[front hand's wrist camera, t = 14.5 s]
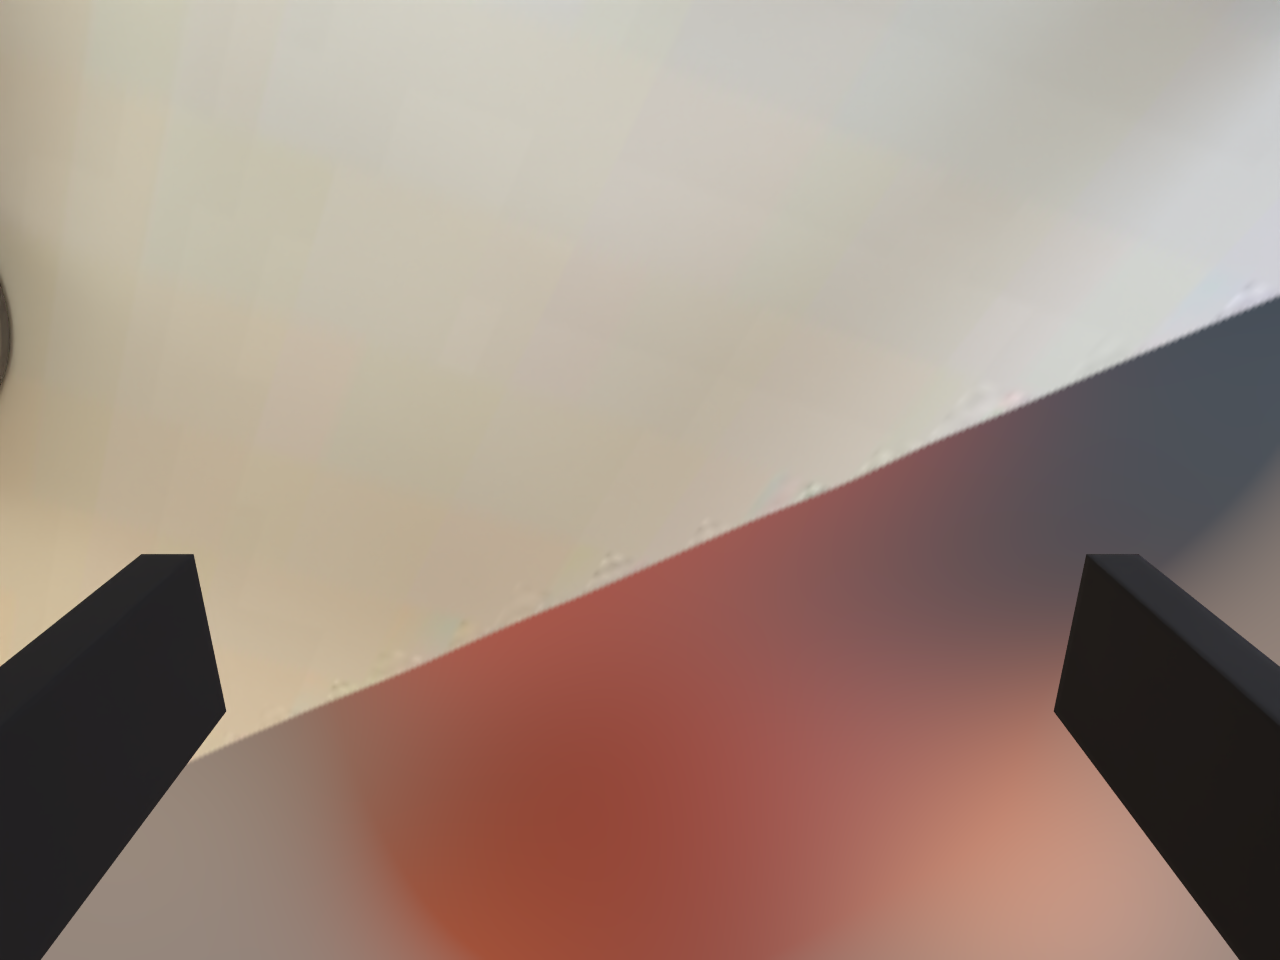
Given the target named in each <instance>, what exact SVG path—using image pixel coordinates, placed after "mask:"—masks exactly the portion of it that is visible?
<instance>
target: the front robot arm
mask: <svg viewBox="0 0 1280 960" xmlns="http://www.w3.org/2000/svg"><path fill="white" fill-rule="evenodd" d="M9 341H10V332H9V320H8V313H7V308H6V302H5V299H4V295H3V292H2V288H1V285H0V385H1V383H2V380H3V378H4V374H5V370H6V366H7V362H8V355H9ZM225 712H226V708H225V703H224V698H223V693H222V689H221V684H220V679H219V674H218V669H217V665H216V660H215V655H214V650H213V645H212V641H211V636H210V631H209V626H208V621H207V616H206V612H205V607H204V602H203V597H202V592H201V588H200V583H199V578H198V573H197V568H196V564H195V559H194V554H141V555H140V556H139V557H137V558H136V559H135V560H134V561H132V562H131V563H130V564H129V565H127V566H126V567H125V568H124V569H122V570H121V571H120V572H119V573H117V574H116V575H115V576H114V577H112V578H111V579H110V580H109V581H107V582H106V583H105V584H104V585H102V586H101V587H100V588H98V589H97V590H96V591H95V592H93V593H92V594H91V595H90V596H88V597H87V598H86V599H85V600H83V601H82V602H81V603H80V604H78V605H77V606H76V607H75V608H73V609H72V610H71V611H70V612H68V613H67V614H66V615H65V616H63V617H62V618H61V619H60V620H58V621H57V622H56V623H55V624H53V625H52V626H51V627H50V628H48V629H47V630H46V631H44V632H43V633H42V634H41V635H39V636H38V637H37V638H36V639H34V640H33V641H32V642H31V643H29V644H28V645H27V646H26V647H24V648H23V649H22V650H21V651H19V652H18V653H17V654H16V655H14V656H13V657H12V658H11V659H9V660H8V661H7V662H6V663H4V664H3V665H2V666H1V667H0V960H41V958H42V957H43V956H44V955H45V953H46V952H47V951H48V949H49V948H50V947H51V945H52V944H53V943H54V941H55V940H56V939H57V937H58V936H59V934H60V933H61V932H62V930H63V929H64V928H65V926H66V925H67V924H68V922H69V921H70V920H71V918H72V917H73V916H74V914H75V913H76V912H77V910H78V909H79V908H80V906H81V905H82V904H83V902H84V901H85V900H86V898H87V897H88V896H89V894H90V893H91V892H92V890H93V889H94V888H95V886H96V885H97V884H98V882H99V881H100V880H101V878H102V877H103V876H104V874H105V873H106V872H107V870H108V869H109V868H110V866H111V865H112V863H113V862H114V861H115V860H116V858H117V857H118V855H119V854H120V853H121V851H122V850H123V849H124V847H125V846H126V845H127V843H128V842H129V841H130V839H131V838H132V837H133V835H134V834H135V833H136V831H137V830H138V829H139V827H140V826H141V825H142V823H143V822H144V821H145V819H146V818H147V817H148V815H149V814H150V813H151V811H152V810H153V809H154V807H155V806H156V805H157V803H158V802H159V801H160V799H161V798H162V797H163V795H164V794H165V793H166V791H167V790H168V789H169V787H170V786H171V785H172V783H173V782H174V781H175V779H176V778H177V777H178V775H179V774H180V772H181V771H182V770H183V768H184V767H185V766H186V764H187V763H188V762H189V760H190V759H191V758H192V756H193V755H194V754H195V752H196V751H197V750H198V748H199V747H200V746H201V744H202V743H203V742H204V740H205V739H206V738H207V736H208V735H209V734H210V732H211V731H212V730H213V728H214V727H215V726H216V724H217V723H218V722H219V720H220V719H221V718H222V716H223V715H224V714H225ZM1054 712H1055V713H1056V715H1057V716H1058V718H1059V719H1060V720H1061V722H1062V723H1063V724H1064V726H1065V727H1066V728H1067V730H1068V731H1069V732H1070V734H1071V735H1072V736H1073V738H1074V739H1075V740H1076V742H1077V743H1078V744H1079V746H1080V747H1081V748H1082V750H1083V751H1084V752H1085V754H1086V755H1087V756H1088V758H1089V759H1090V760H1091V762H1092V763H1093V764H1094V766H1095V767H1096V768H1097V770H1098V771H1099V772H1100V774H1101V775H1102V776H1103V778H1104V779H1105V781H1106V782H1107V783H1108V784H1109V786H1110V787H1111V789H1112V790H1113V791H1114V793H1115V794H1116V795H1117V797H1118V798H1119V799H1120V801H1121V802H1122V803H1123V805H1124V806H1125V807H1126V809H1127V810H1128V811H1129V813H1130V814H1131V815H1132V817H1133V818H1134V819H1135V821H1136V822H1137V823H1138V825H1139V826H1140V827H1141V829H1142V830H1143V831H1144V833H1145V834H1146V835H1147V837H1148V838H1149V839H1150V841H1151V842H1152V843H1153V845H1154V846H1155V847H1156V849H1157V850H1158V851H1159V853H1160V854H1161V856H1162V857H1163V858H1164V860H1165V861H1166V862H1167V864H1168V865H1169V866H1170V868H1171V869H1172V870H1173V872H1174V873H1175V874H1176V876H1177V877H1178V878H1179V880H1180V881H1181V882H1182V884H1183V885H1184V886H1185V888H1186V889H1187V890H1188V892H1189V893H1190V894H1191V896H1192V897H1193V898H1194V900H1195V901H1196V902H1197V904H1198V905H1199V906H1200V908H1201V909H1202V910H1203V912H1204V913H1205V914H1206V916H1207V917H1208V918H1209V920H1210V921H1211V922H1212V924H1213V925H1214V926H1215V928H1216V929H1217V930H1218V932H1219V933H1220V934H1221V936H1222V937H1223V939H1224V940H1225V941H1226V943H1227V944H1228V945H1229V947H1230V948H1231V949H1232V951H1233V952H1234V953H1235V955H1236V956H1237V957H1238V959H1239V960H1280V667H1279V666H1278V665H1277V664H1276V663H1274V662H1273V661H1272V660H1271V659H1269V658H1268V657H1267V656H1266V655H1264V654H1263V653H1262V652H1261V651H1259V650H1258V649H1257V648H1256V647H1254V646H1253V645H1252V644H1251V643H1249V642H1248V641H1247V640H1246V639H1244V638H1243V637H1242V636H1241V635H1239V634H1238V633H1237V632H1235V631H1234V630H1233V629H1232V628H1230V627H1229V626H1228V625H1227V624H1225V623H1224V622H1223V621H1222V620H1220V619H1219V618H1218V617H1217V616H1215V615H1214V614H1213V613H1212V612H1210V611H1209V610H1208V609H1207V608H1205V607H1204V606H1203V605H1202V604H1200V603H1199V602H1198V601H1197V600H1195V599H1194V598H1193V597H1191V596H1190V595H1189V594H1188V593H1187V592H1185V591H1184V590H1183V589H1181V588H1180V587H1179V586H1178V585H1176V584H1175V583H1174V582H1173V581H1171V580H1170V579H1169V578H1168V577H1166V576H1165V575H1164V574H1163V573H1161V572H1160V571H1159V570H1158V569H1156V568H1155V567H1154V566H1153V565H1151V564H1150V563H1149V562H1148V561H1146V560H1145V559H1144V558H1143V557H1141V556H1140V555H1139V554H1087V555H1086V559H1085V564H1084V568H1083V573H1082V578H1081V583H1080V588H1079V593H1078V597H1077V602H1076V607H1075V612H1074V617H1073V621H1072V626H1071V631H1070V636H1069V641H1068V645H1067V650H1066V655H1065V660H1064V665H1063V669H1062V674H1061V679H1060V684H1059V689H1058V693H1057V698H1056V703H1055V708H1054Z"/></svg>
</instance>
